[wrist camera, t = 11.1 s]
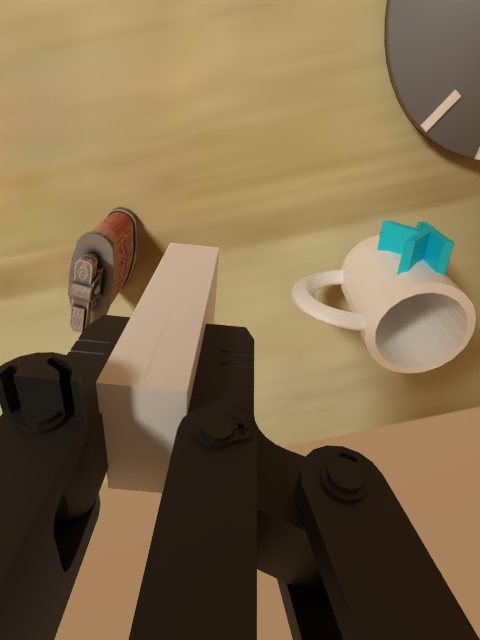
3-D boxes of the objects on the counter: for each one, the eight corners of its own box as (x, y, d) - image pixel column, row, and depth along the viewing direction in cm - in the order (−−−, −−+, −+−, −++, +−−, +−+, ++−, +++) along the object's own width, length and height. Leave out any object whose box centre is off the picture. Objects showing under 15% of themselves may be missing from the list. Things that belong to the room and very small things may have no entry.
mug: (428, 203, 34) (503, 255, 24) (403, 298, 39) (457, 375, 28) (290, 199, 34) (305, 248, 24) (282, 293, 39) (292, 369, 28)
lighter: (106, 202, 35) (57, 239, 26) (144, 213, 35) (108, 253, 27) (97, 281, 39) (51, 336, 30) (131, 290, 39) (96, 348, 31)
